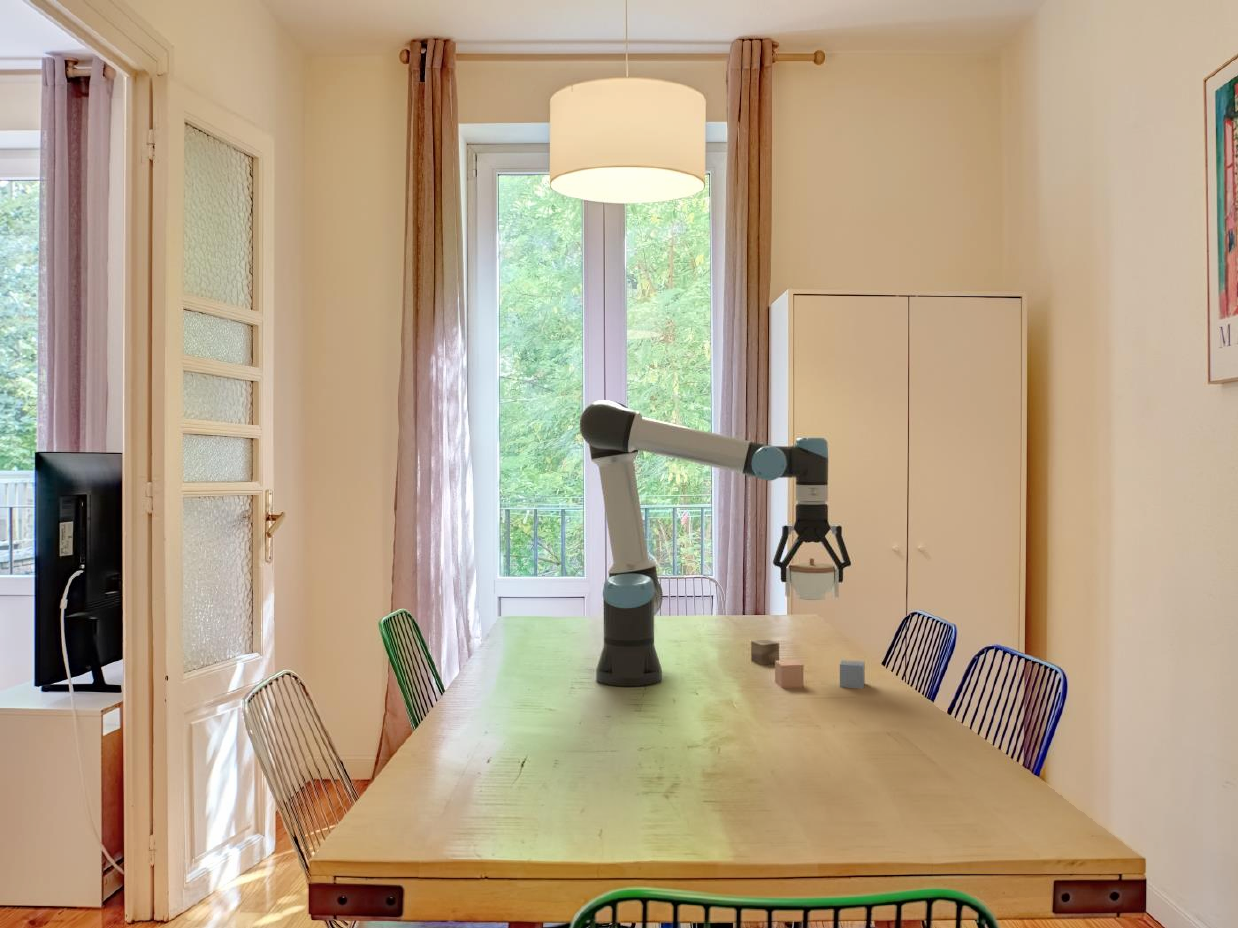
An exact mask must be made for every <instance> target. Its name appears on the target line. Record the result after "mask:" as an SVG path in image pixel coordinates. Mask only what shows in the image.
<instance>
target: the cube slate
mask: <svg viewBox="0 0 1238 928" xmlns="http://www.w3.org/2000/svg"><path fill="white" fill-rule="evenodd" d="M865 663H866V661H864V660H861V661H860V660H848V659H847V660H846V659H842V660H841V661H840V663H839V687H840V688H851V689H864V686H865V684H866V681H865V679H866V678H865V673H866V672H865V670H866V669H865V668H866V667H865Z"/></svg>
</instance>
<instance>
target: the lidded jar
mask: <svg viewBox="0 0 1238 928" xmlns="http://www.w3.org/2000/svg"><path fill="white" fill-rule="evenodd" d="M788 568H789V569H790V588H791V589H792V591H793V592H794V594H796V595H797V596H798V599H799V600H805V601H820V600H821V601H823V600H825V599H826V597H827V596H828V595H829V594H830V593H831V591H832V589H833V583H834V571H835V568H836V565H834V564H830V563H819V562H815V558H814V557H813V558H809V562H797V563H789V564H788Z"/></svg>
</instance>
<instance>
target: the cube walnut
mask: <svg viewBox="0 0 1238 928" xmlns="http://www.w3.org/2000/svg"><path fill="white" fill-rule="evenodd" d="M750 642H751V643H750V646H751V647H750V651H751V653H750V654H751V655H750V657H751V659H750V660H751V662H753V663H756V664H758V665H759V666H760V665H761V666H763V665H775V661H780V642H777V641H774V640H771V639H763V640H751V641H750Z"/></svg>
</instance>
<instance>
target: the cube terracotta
mask: <svg viewBox="0 0 1238 928" xmlns="http://www.w3.org/2000/svg"><path fill="white" fill-rule="evenodd" d="M774 683H775V684H776V685H778V686H779V687H780V688H786V689H787V688H804V664H803V663H802V662H800V661H799V660H797V659H792V660H791V659H786V660H784V659H783V660H779V661H775V664H774Z"/></svg>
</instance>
